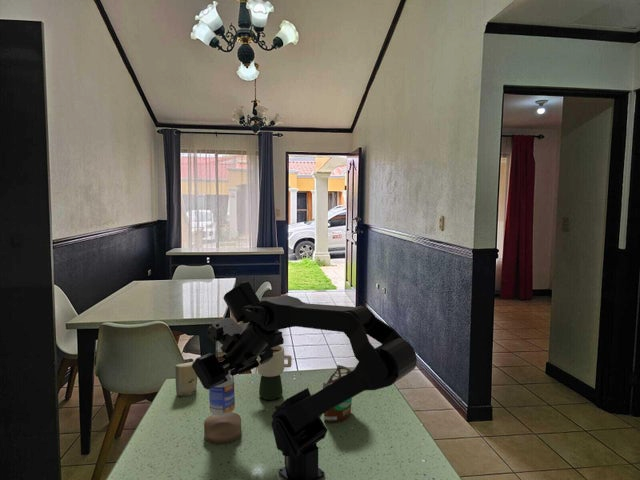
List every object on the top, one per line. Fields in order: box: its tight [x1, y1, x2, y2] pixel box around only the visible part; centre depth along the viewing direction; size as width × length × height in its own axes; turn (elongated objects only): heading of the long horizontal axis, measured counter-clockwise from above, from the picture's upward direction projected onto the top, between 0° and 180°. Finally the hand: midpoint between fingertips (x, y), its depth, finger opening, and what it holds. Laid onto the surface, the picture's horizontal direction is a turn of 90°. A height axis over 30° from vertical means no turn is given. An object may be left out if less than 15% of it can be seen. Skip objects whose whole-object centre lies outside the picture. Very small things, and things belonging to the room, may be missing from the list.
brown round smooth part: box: [203, 411, 242, 445], centre depth 93 cm, size 8×8×3 cm
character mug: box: [256, 344, 293, 401], centre depth 110 cm, size 11×7×13 cm, turn 90°
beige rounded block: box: [175, 361, 198, 397], centre depth 112 cm, size 6×5×8 cm
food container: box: [322, 364, 353, 424], centre depth 101 cm, size 12×6×10 cm, turn 161°
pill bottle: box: [208, 366, 236, 416], centre depth 92 cm, size 5×5×10 cm
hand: (217, 379), depth 92 cm, fingers closed on pill bottle, 5 cm apart
